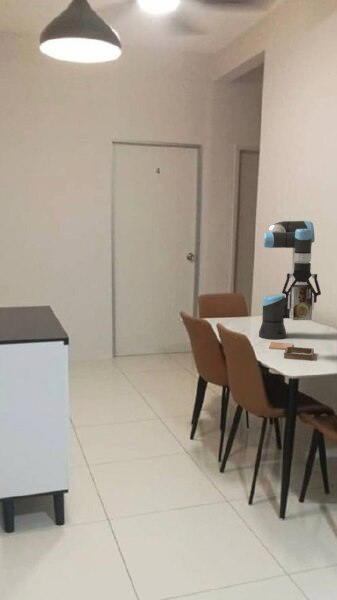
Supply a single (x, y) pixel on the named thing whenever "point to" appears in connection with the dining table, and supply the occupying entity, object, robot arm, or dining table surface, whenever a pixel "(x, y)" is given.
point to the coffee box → (301, 302)
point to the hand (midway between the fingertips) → (300, 308)
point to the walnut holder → (299, 350)
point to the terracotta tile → (280, 345)
